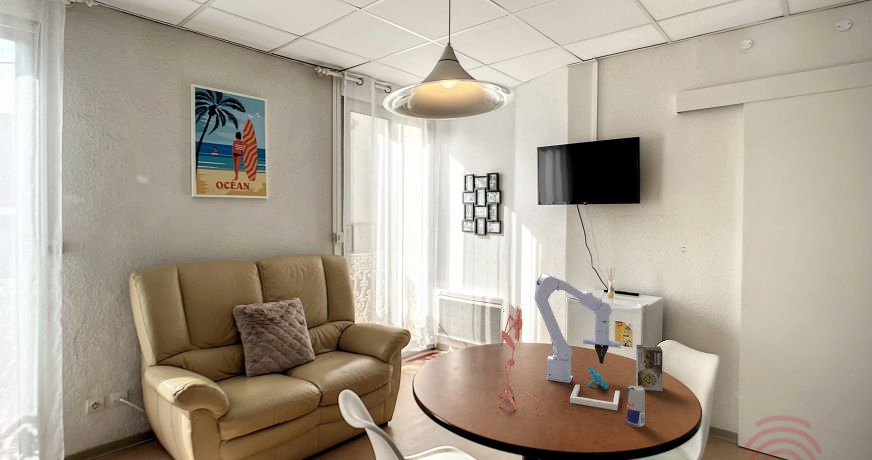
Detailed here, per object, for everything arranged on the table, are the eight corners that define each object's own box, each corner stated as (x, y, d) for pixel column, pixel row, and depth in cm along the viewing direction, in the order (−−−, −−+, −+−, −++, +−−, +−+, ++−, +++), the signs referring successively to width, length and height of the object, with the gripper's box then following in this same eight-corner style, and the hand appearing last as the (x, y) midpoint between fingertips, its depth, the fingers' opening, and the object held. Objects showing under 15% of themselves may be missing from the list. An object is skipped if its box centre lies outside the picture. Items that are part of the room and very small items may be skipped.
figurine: (495, 416, 154) (499, 313, 153) (497, 388, 179) (500, 300, 178) (542, 421, 152) (546, 316, 150) (537, 391, 177) (540, 302, 176)
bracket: (570, 402, 166) (570, 397, 166) (575, 389, 179) (575, 384, 179) (617, 410, 159) (617, 404, 159) (619, 396, 172) (619, 391, 172)
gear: (608, 389, 174) (589, 368, 178) (597, 399, 176) (578, 377, 179) (610, 383, 184) (592, 363, 188) (599, 393, 186) (581, 372, 189)
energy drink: (623, 420, 152) (624, 384, 151) (639, 420, 152) (639, 384, 152) (631, 428, 146) (632, 391, 146) (647, 427, 147) (648, 390, 146)
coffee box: (660, 386, 183) (661, 346, 182) (662, 391, 176) (663, 350, 176) (635, 383, 186) (636, 343, 185) (636, 388, 179) (637, 348, 179)
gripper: (621, 330, 190) (620, 362, 191) (584, 326, 196) (584, 357, 197) (620, 334, 184) (619, 367, 184) (582, 330, 190) (582, 362, 190)
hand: (601, 362), depth 190 cm, fingers closed
